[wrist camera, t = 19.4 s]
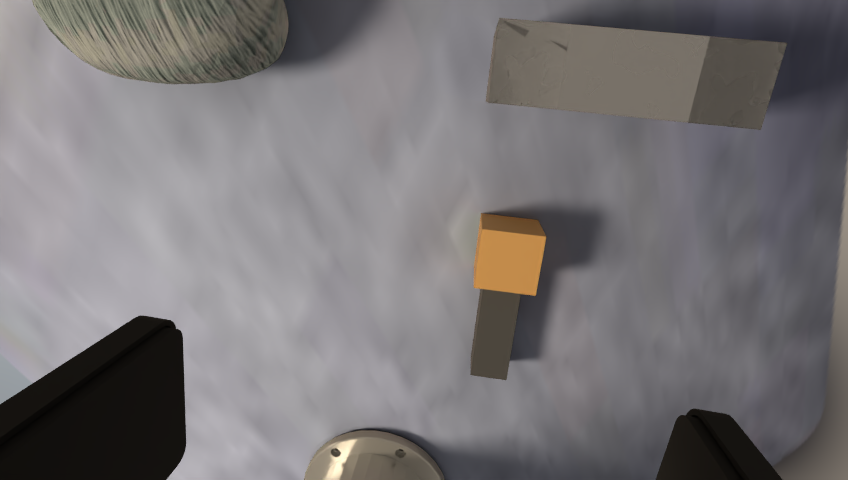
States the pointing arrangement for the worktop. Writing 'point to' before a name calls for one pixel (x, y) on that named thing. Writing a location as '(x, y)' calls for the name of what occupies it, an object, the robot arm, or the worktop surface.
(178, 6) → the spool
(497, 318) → the plug
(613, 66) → the housing
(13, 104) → the worktop surface
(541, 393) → the worktop surface
